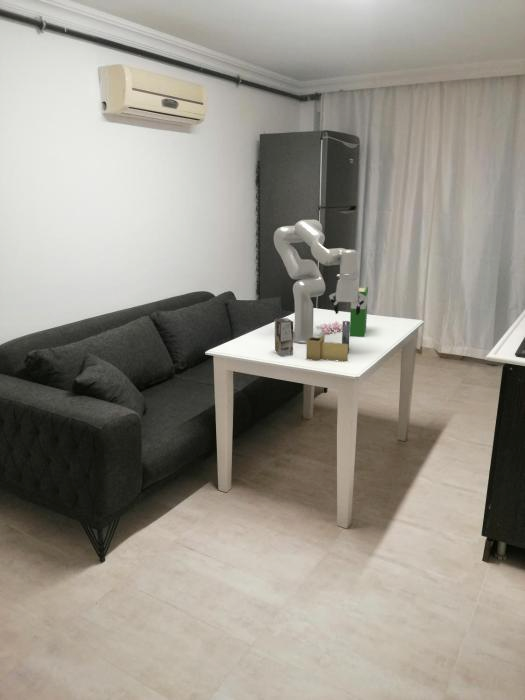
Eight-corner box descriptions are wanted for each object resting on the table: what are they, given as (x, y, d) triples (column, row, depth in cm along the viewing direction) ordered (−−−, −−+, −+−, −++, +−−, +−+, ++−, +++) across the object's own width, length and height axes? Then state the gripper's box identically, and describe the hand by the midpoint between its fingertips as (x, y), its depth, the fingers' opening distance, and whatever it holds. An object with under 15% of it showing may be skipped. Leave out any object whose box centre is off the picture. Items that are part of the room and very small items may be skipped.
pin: (340, 353, 260) (341, 322, 256) (342, 351, 263) (343, 320, 259) (347, 353, 259) (349, 322, 254) (349, 352, 262) (350, 321, 258)
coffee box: (293, 355, 257) (293, 321, 252) (280, 356, 255) (280, 322, 251) (287, 350, 265) (287, 317, 261) (274, 351, 263) (274, 318, 259)
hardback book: (352, 328, 307) (354, 286, 301) (366, 329, 306) (368, 286, 299) (349, 336, 291) (351, 291, 284) (363, 337, 289) (365, 292, 283)
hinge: (306, 359, 250) (306, 340, 248) (317, 349, 266) (317, 331, 264) (345, 363, 244) (346, 343, 241) (354, 352, 260) (354, 334, 258)
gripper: (327, 277, 251) (327, 314, 255) (365, 278, 245) (364, 316, 249) (331, 275, 257) (330, 311, 262) (368, 276, 251) (367, 313, 256)
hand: (347, 313), depth 255 cm, fingers open, 9 cm apart
